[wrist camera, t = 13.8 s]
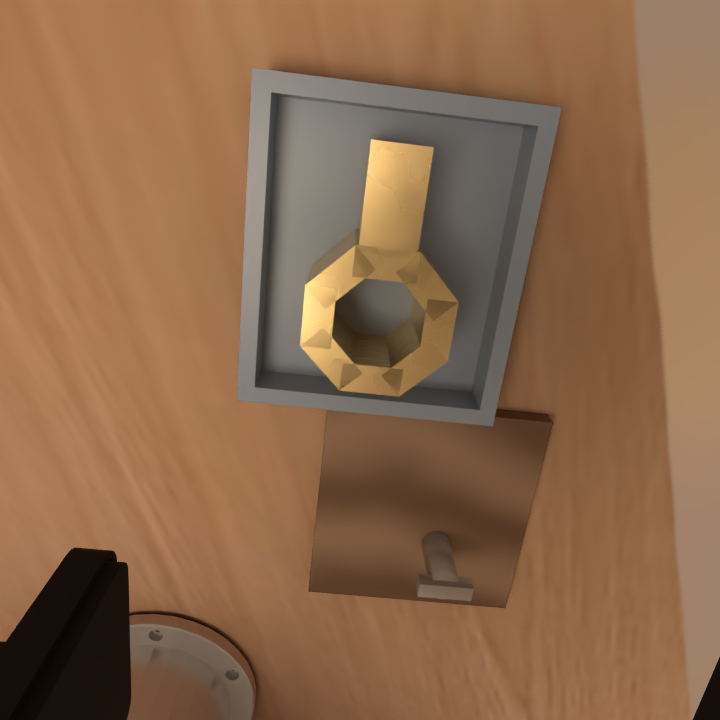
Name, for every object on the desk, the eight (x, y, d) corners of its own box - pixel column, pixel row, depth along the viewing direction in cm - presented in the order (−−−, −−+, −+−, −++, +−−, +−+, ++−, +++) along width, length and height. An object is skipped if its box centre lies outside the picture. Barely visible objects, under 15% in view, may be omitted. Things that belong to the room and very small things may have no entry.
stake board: (501, 596, 36) (523, 663, 32) (309, 579, 36) (303, 645, 31) (547, 414, 32) (580, 461, 27) (329, 392, 31) (325, 436, 27)
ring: (428, 364, 30) (441, 401, 26) (304, 351, 30) (296, 386, 26) (464, 151, 26) (486, 153, 22) (324, 133, 26) (318, 132, 22)
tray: (480, 401, 32) (492, 426, 29) (247, 377, 31) (237, 400, 28) (540, 110, 27) (562, 107, 24) (263, 75, 26) (252, 67, 23)
